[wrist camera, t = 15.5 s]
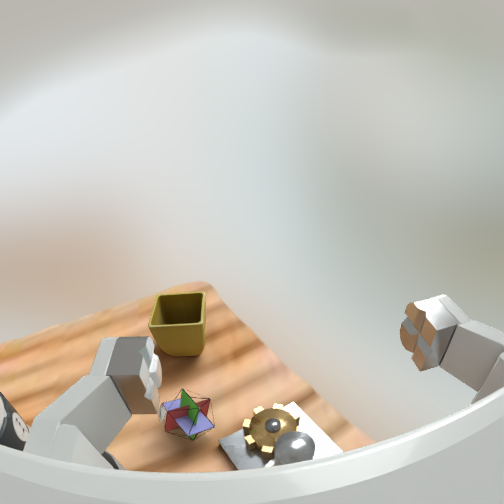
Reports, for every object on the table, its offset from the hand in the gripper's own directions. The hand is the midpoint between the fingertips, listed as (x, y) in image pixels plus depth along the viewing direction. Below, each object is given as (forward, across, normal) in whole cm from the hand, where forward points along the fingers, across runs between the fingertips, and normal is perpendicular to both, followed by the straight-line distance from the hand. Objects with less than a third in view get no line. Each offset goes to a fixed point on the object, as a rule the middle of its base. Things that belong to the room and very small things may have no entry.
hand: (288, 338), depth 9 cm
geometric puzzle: (+17, +9, +32) cm, 38 cm away
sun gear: (+14, -2, +32) cm, 35 cm away
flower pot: (+34, +11, +32) cm, 48 cm away
